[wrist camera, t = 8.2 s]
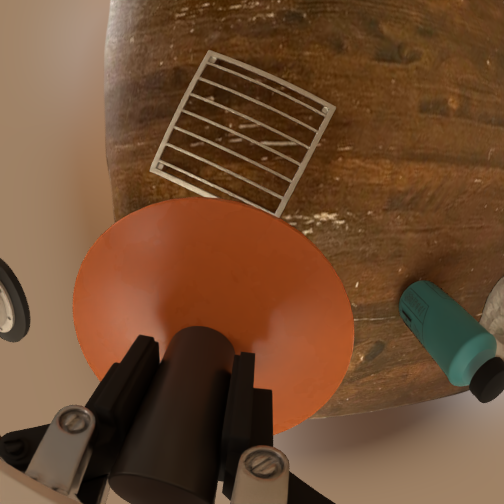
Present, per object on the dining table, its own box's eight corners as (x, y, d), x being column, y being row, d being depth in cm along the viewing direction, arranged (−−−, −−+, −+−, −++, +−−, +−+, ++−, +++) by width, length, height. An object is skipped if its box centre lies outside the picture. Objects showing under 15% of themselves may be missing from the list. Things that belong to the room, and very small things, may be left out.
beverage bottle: (384, 296, 36) (459, 399, 17) (422, 263, 35) (518, 344, 16) (405, 326, 38) (473, 425, 18) (440, 296, 36) (524, 379, 17)
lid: (103, 400, 15) (46, 502, 7) (78, 184, 11) (-82, 229, 3) (311, 435, 15) (325, 557, 7) (378, 218, 11) (524, 315, 3)
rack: (155, 170, 33) (149, 171, 31) (212, 55, 29) (208, 49, 27) (272, 225, 34) (272, 230, 32) (332, 110, 30) (336, 107, 28)
